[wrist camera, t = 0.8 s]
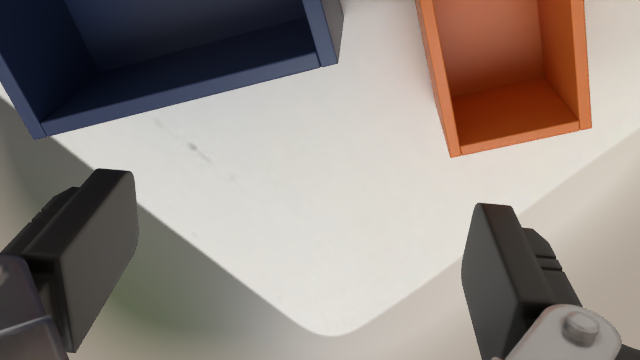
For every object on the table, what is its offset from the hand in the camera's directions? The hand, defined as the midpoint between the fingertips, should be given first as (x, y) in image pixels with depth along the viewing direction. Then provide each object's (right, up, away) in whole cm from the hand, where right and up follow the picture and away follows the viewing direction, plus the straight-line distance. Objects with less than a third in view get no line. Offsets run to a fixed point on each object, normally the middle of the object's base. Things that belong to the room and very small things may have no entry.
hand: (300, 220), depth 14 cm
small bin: (+8, +10, +14) cm, 19 cm away
